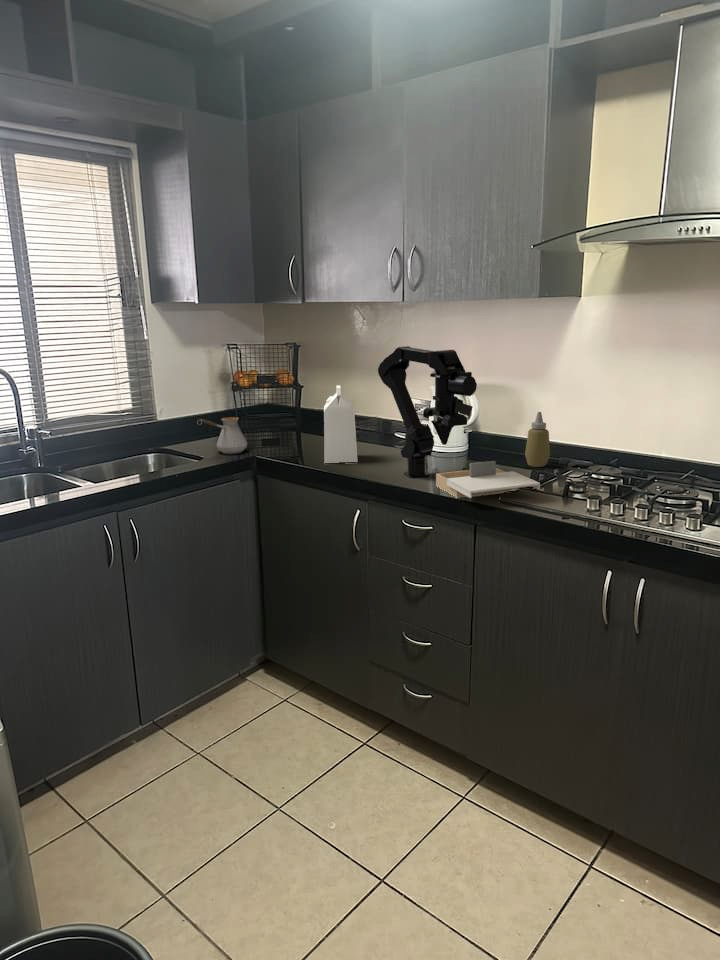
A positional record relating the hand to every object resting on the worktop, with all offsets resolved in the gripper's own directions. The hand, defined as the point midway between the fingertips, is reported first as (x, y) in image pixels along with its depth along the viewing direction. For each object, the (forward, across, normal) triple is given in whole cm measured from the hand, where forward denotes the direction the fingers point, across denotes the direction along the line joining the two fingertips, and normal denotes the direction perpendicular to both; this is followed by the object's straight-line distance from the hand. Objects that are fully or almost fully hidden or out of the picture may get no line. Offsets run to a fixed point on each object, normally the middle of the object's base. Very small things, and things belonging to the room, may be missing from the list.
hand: (444, 444), depth 208 cm
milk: (+12, +43, +20) cm, 49 cm away
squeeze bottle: (+12, +8, -38) cm, 41 cm away
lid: (+9, -19, -6) cm, 22 cm away
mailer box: (+12, -10, -6) cm, 17 cm away
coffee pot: (+12, +69, +58) cm, 91 cm away
